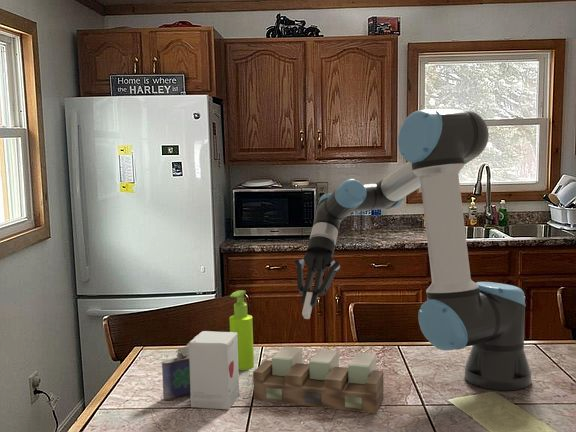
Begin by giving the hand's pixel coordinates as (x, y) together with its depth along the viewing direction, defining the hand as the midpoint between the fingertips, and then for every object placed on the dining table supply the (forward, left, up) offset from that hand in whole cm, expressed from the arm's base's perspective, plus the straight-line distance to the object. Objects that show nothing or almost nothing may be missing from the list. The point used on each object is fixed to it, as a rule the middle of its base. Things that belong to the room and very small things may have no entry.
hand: (305, 316), depth 167 cm
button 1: (-1, +17, -8) cm, 19 cm away
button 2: (-19, +17, -8) cm, 27 cm away
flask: (+21, +29, -13) cm, 38 cm away
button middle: (-10, +17, -8) cm, 21 cm away
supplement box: (+12, +30, -13) cm, 35 cm away
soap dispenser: (+15, +8, -13) cm, 21 cm away
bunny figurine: (+28, +8, -13) cm, 32 cm away
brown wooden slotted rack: (-10, +23, -12) cm, 28 cm away
